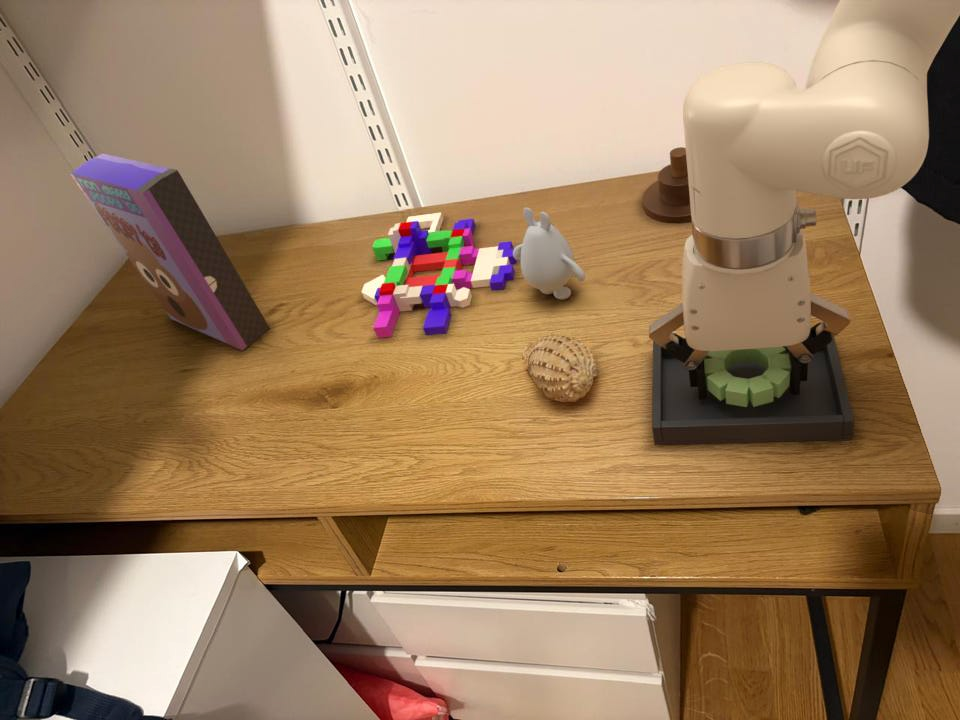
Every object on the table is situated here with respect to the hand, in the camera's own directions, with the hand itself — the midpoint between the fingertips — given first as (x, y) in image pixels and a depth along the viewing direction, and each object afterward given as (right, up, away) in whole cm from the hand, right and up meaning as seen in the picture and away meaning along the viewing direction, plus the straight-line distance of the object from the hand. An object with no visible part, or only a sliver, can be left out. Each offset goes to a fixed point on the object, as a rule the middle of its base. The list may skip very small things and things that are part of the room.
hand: (746, 385), depth 69 cm
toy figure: (-16, +10, +19) cm, 27 cm away
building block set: (-30, +14, +29) cm, 44 cm away
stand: (+1, +23, +26) cm, 35 cm away
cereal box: (-61, +7, +33) cm, 69 cm away
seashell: (-16, 0, +9) cm, 19 cm away
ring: (0, +1, -1) cm, 1 cm away
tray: (0, -1, +1) cm, 1 cm away
